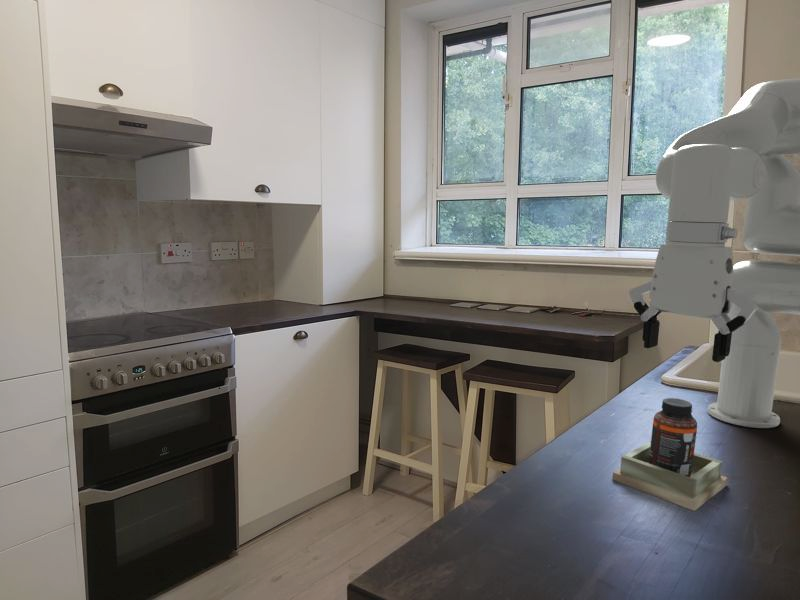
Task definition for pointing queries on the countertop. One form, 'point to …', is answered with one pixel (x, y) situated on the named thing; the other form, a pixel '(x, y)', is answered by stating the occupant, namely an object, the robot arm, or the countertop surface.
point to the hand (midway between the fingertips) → (683, 353)
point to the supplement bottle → (674, 437)
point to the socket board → (672, 478)
